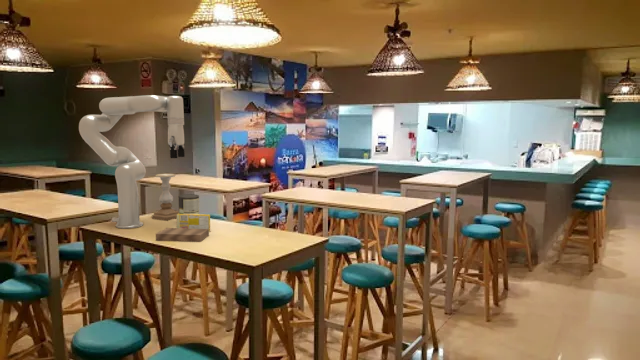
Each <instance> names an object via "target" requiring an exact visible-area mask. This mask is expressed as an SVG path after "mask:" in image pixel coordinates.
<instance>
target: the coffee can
mask: <svg viewBox="0 0 640 360" xmlns="http://www.w3.org/2000/svg"><path fill="white" fill-rule="evenodd" d="M178 212H179V214H200V194H195V193H193V194H191V193H190V194H188V193H187V194H186V193H185V194H180V195H178Z"/></svg>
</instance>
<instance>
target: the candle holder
mask: <svg viewBox="0 0 640 360" xmlns="http://www.w3.org/2000/svg"><path fill="white" fill-rule="evenodd" d="M155 177H156V178H159V179H160V181H161V182H162V183H161V185H160V188H161V189H162V192H161V194H160V196H159V198H158V201H159V202H160V203H161V204H160V209H158V211H155V212H153V215H151V218H152V219H153V220H160V221H167V222H168V221H172V220H177V214H179V210H175V209H173V208H172V207H173V204H172V202H173V200H174V197H173V195H172V193H171V192H170V189H171V184H170V180H171V179H172V178H174V177H176V173H157V174H155Z"/></svg>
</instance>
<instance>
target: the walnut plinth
mask: <svg viewBox="0 0 640 360" xmlns="http://www.w3.org/2000/svg"><path fill="white" fill-rule="evenodd" d="M209 236H210V232H209V229H191V228H177V227H165V228H164V229H162V230H161V231H158V232H156V233H155V241H157V242H158V241H160V242H162V241H163V242H190V243H191V242H192V243H193V242H194V243H195V242H196V243H201V242H202V241H203V240H205V239H206V238H208V237H209Z"/></svg>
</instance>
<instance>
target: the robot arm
mask: <svg viewBox="0 0 640 360" xmlns="http://www.w3.org/2000/svg"><path fill="white" fill-rule="evenodd" d="M98 107H99V110H100V112H101V114H87V115H84V116H83V117H82V118H80V120H79V123H78V131H79V134H80V136H81V138H82V140H84V142H85V144H86V145H88V146H89V147H90V148H91V149H92V150H93V151H94V152H95V153H96V154H97V155H98V156H99V157H100V159H101V160H102V161H103V162H104V163H105V164H107V165H108V166H110V167H116V169H115V171H114V177H115V181H116V187H117V202H118V203H117V205H118V207H117V208H118V217H112V218H111V223H116V224H115V227H116V228H118V229H136V228H140V227H142V226H143V225H144V222H143V221H140V195H139V193H140V192H139V186H138V183H137V181H139V180H142V179H144V178H145V176H146V173H147V170H146V166H145V165H144V164H143V162H142V161H141V160H139V158H138V157H137V156H136V155H135V154H134V153H133V152H132V151H131V150H130V149H129V148H128V147H126V146H121V145H120V146H116V145H115V144H113V143H112V142H111V140H109V139H108V138H107V137H106V136H105V135H103V134H102V133H106V132H108V131H110V130H112V128H113V127H114V126H115V125H116V124H118V122H119V120H121V118H122V117H123V116H124V115H135V114H136V113H143V112H144V113H145V112H147V113H148V112H159V113H164V112H165V113H166V112H167V113H166V114H167V126H168V127H167V145H168V146H169V154H170V155H169V157H170V159H178V158H185V130H184V126H185V115H184V98H183V97H182V96H179V95H169V96H163V95H155V94H151V95H149V94H147V95H146V94H145V95H134V96H133V95H130V96H129V95H128V96H119V97H118V96H114V97H112V96H111V97H105V98H103V99H102V100H100V102H99V104H98ZM101 132H102V133H101Z"/></svg>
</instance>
